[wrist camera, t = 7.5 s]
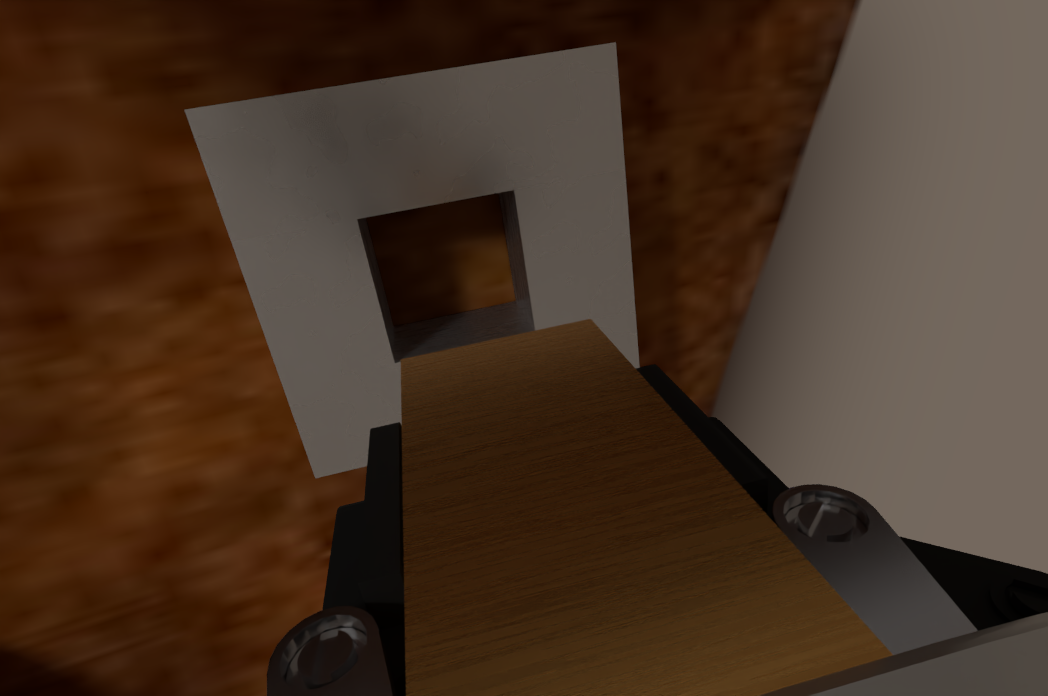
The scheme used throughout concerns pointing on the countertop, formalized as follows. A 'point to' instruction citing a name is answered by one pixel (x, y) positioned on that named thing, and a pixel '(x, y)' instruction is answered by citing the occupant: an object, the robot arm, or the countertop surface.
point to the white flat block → (412, 182)
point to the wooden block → (591, 538)
